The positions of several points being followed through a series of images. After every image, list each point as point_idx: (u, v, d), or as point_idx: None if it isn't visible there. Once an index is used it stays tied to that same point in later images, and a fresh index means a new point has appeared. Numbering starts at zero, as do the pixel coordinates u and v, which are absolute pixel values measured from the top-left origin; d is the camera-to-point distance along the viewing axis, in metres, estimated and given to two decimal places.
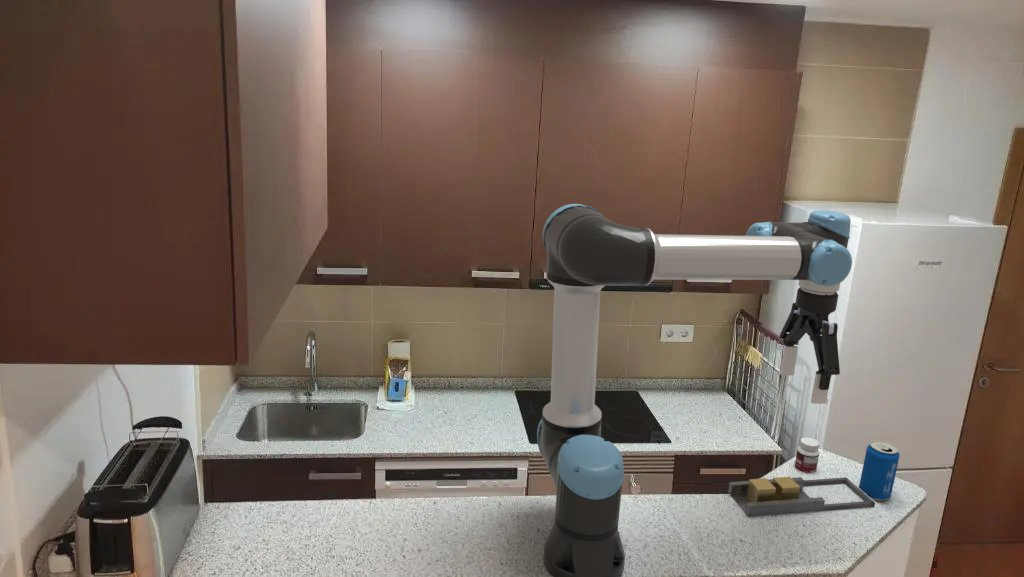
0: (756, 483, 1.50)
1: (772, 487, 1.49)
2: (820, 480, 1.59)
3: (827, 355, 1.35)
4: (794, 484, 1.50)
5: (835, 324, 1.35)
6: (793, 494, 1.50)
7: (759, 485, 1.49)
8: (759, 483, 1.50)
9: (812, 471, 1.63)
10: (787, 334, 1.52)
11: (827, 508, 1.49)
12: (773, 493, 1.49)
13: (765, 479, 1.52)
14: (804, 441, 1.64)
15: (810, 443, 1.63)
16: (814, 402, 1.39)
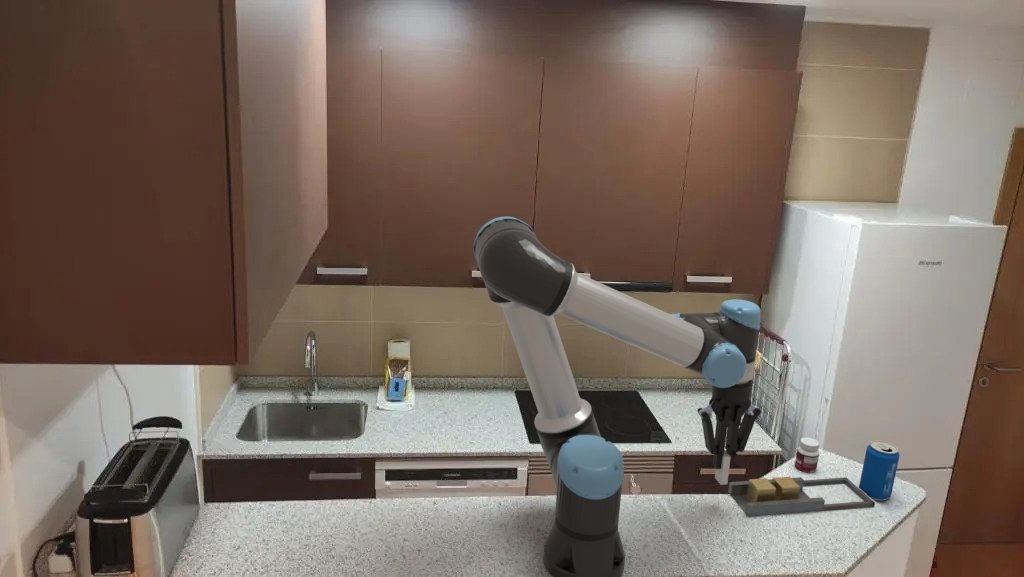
0: (756, 483, 1.50)
1: (772, 487, 1.49)
2: (820, 480, 1.59)
3: (704, 434, 1.45)
4: (794, 484, 1.50)
5: (701, 414, 1.41)
6: (793, 494, 1.50)
7: (759, 485, 1.49)
8: (759, 483, 1.50)
9: (812, 471, 1.63)
10: (737, 444, 1.46)
11: (827, 508, 1.49)
12: (773, 493, 1.49)
13: (765, 479, 1.52)
14: (804, 441, 1.64)
15: (810, 443, 1.63)
16: (715, 477, 1.49)
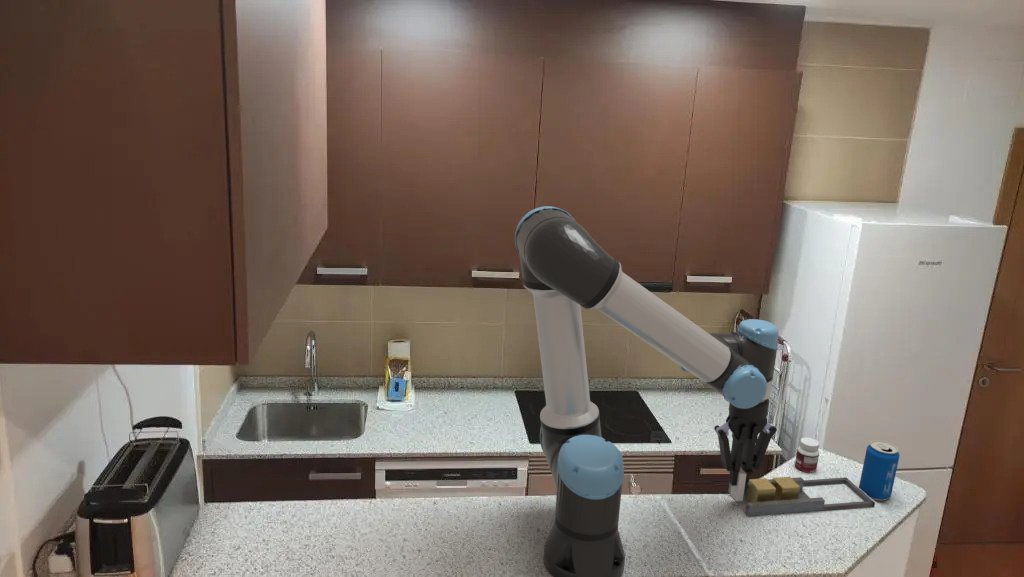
0: (756, 483, 1.50)
1: (772, 487, 1.49)
2: (820, 480, 1.59)
3: (720, 451, 1.47)
4: (794, 484, 1.50)
5: (718, 432, 1.43)
6: (793, 494, 1.50)
7: (759, 485, 1.49)
8: (759, 483, 1.50)
9: (812, 471, 1.63)
10: (753, 461, 1.48)
11: (827, 508, 1.49)
12: (773, 493, 1.49)
13: (765, 479, 1.52)
14: (804, 441, 1.64)
15: (810, 443, 1.63)
16: (731, 494, 1.51)
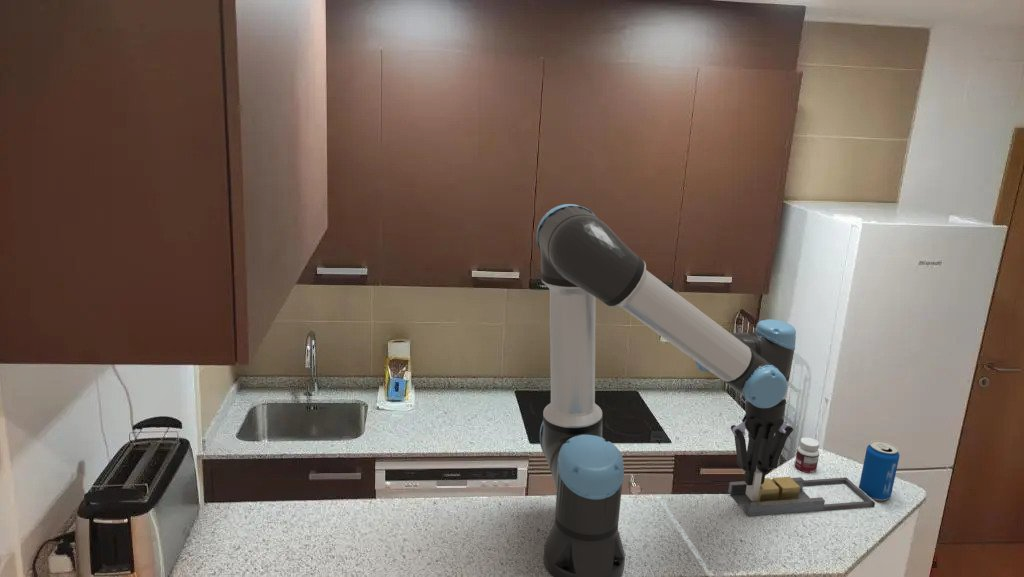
0: None
1: (775, 487, 1.49)
2: (820, 480, 1.59)
3: (736, 451, 1.48)
4: (794, 484, 1.50)
5: (735, 431, 1.44)
6: (793, 494, 1.50)
7: (762, 485, 1.49)
8: None
9: (812, 471, 1.63)
10: (768, 461, 1.49)
11: (827, 508, 1.49)
12: (776, 493, 1.49)
13: (769, 479, 1.52)
14: (804, 441, 1.64)
15: (810, 443, 1.63)
16: (746, 493, 1.51)
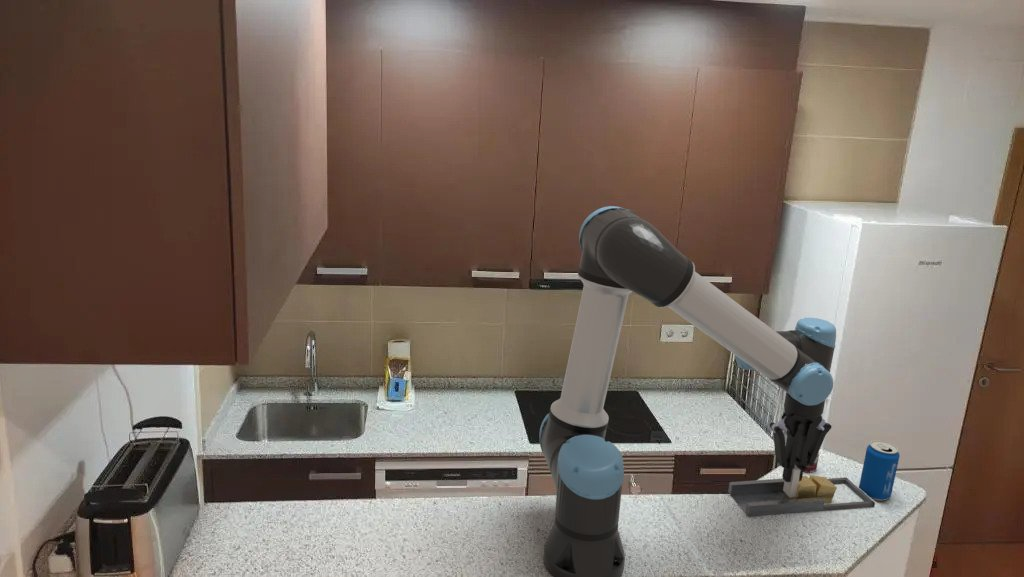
0: None
1: (813, 484, 1.50)
2: None
3: (775, 448, 1.49)
4: (831, 484, 1.52)
5: (775, 429, 1.45)
6: (828, 493, 1.51)
7: (800, 482, 1.51)
8: (799, 481, 1.52)
9: (812, 471, 1.63)
10: (806, 458, 1.50)
11: (827, 508, 1.49)
12: (814, 490, 1.50)
13: (805, 476, 1.53)
14: None
15: None
16: (784, 490, 1.53)
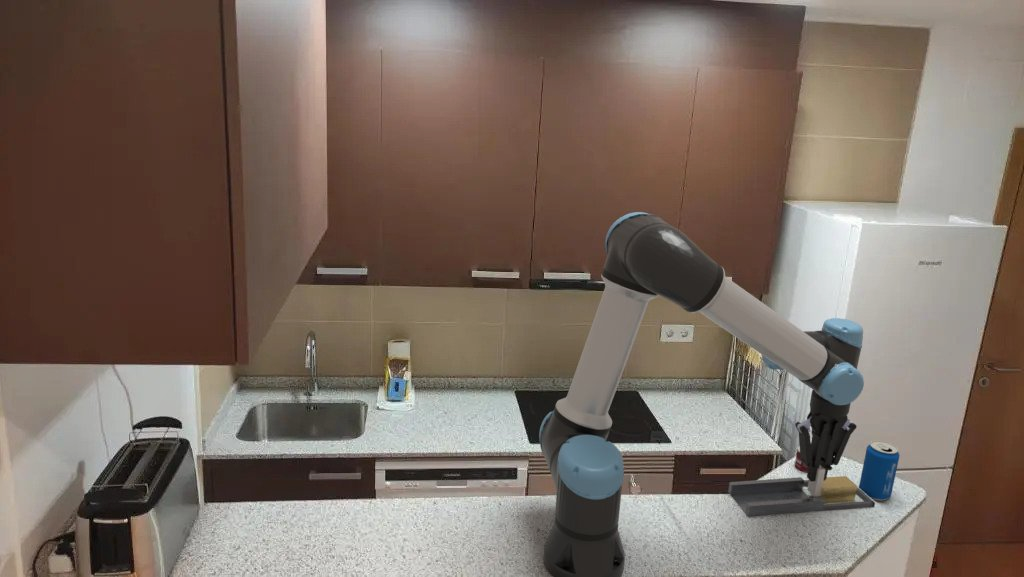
0: None
1: (836, 486, 1.52)
2: None
3: (800, 447, 1.50)
4: (851, 483, 1.53)
5: (800, 428, 1.46)
6: (850, 493, 1.52)
7: (824, 484, 1.52)
8: (823, 482, 1.53)
9: None
10: (831, 457, 1.51)
11: (827, 508, 1.49)
12: (837, 492, 1.52)
13: (829, 478, 1.55)
14: None
15: None
16: (808, 489, 1.54)
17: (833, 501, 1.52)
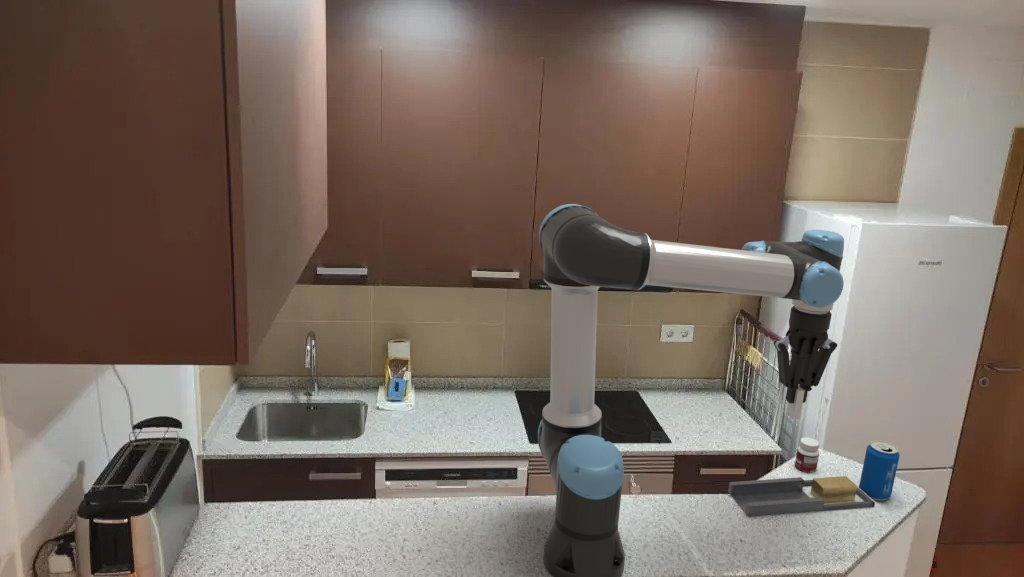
0: (820, 482, 1.53)
1: (836, 486, 1.52)
2: None
3: (778, 367, 1.44)
4: (851, 483, 1.53)
5: (779, 345, 1.41)
6: (850, 493, 1.52)
7: (824, 484, 1.52)
8: (823, 482, 1.53)
9: (812, 471, 1.63)
10: (811, 379, 1.45)
11: (827, 508, 1.49)
12: (837, 492, 1.52)
13: (829, 478, 1.55)
14: (804, 441, 1.64)
15: (810, 443, 1.63)
16: (787, 413, 1.48)
17: (833, 501, 1.52)
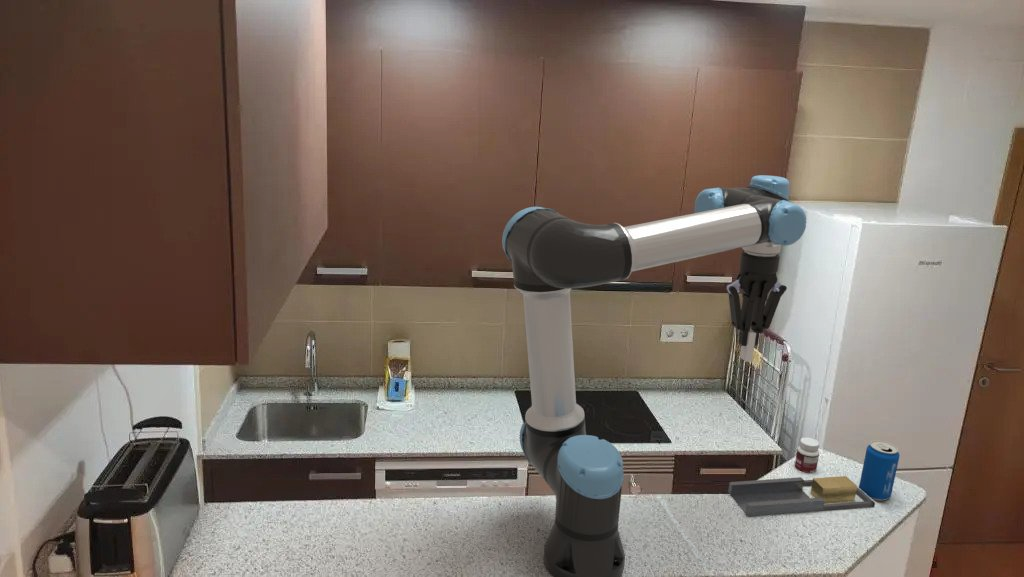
0: (820, 482, 1.53)
1: (836, 486, 1.52)
2: None
3: (730, 311, 1.49)
4: (851, 483, 1.53)
5: (729, 288, 1.45)
6: (850, 493, 1.52)
7: (824, 484, 1.52)
8: (823, 482, 1.53)
9: (812, 471, 1.63)
10: (762, 322, 1.50)
11: (827, 508, 1.49)
12: (837, 492, 1.52)
13: (829, 478, 1.55)
14: (804, 441, 1.64)
15: (810, 443, 1.63)
16: (740, 356, 1.53)
17: (833, 501, 1.52)
